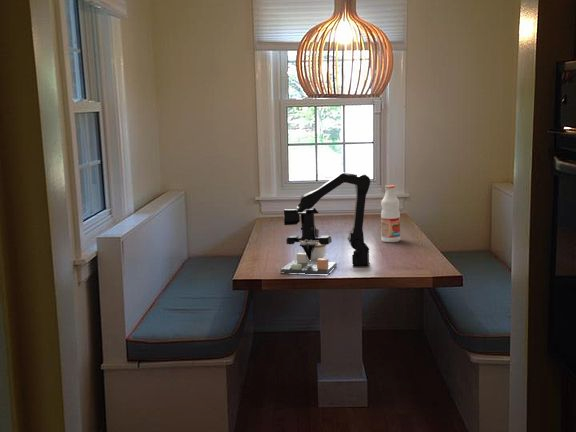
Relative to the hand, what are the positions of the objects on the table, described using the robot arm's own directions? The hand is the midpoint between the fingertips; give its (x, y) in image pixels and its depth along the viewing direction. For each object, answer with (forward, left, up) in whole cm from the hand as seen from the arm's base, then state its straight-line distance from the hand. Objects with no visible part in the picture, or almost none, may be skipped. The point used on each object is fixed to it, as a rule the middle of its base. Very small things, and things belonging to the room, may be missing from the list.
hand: (309, 259), depth 294 cm
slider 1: (+3, 0, -1) cm, 4 cm away
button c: (+3, +9, -3) cm, 10 cm away
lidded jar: (+2, -15, -4) cm, 16 cm away
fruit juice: (-24, -62, -4) cm, 67 cm away
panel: (-1, +4, -4) cm, 5 cm away
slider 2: (-8, +9, -1) cm, 12 cm away
